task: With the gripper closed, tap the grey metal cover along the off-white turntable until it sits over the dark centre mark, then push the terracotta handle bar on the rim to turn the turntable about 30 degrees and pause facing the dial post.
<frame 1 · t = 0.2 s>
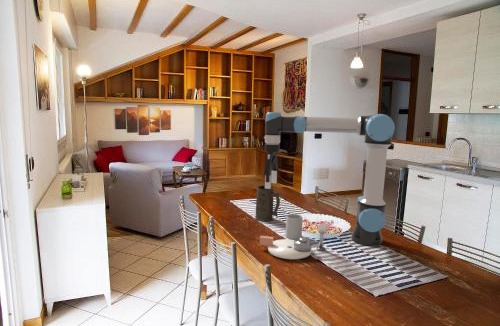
hand: (270, 185, 175), 28 cm above the table, fingers open, 13 cm apart
beer stein: (267, 219, 211), on the table
turntable: (285, 244, 162), point 3 cm above the table, hinge at 0.0°, touching cover
dial post: (320, 249, 167), on the table
cover: (302, 248, 161), point 2 cm above the table, touching turntable
mug: (291, 235, 185), on the table
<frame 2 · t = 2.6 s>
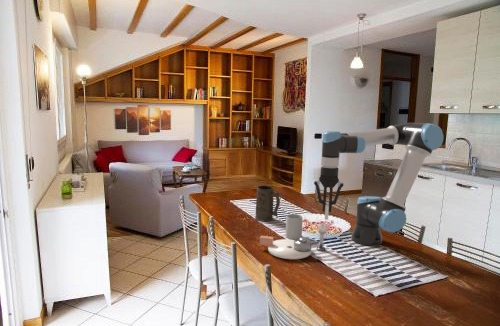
hand: (326, 218, 156), 18 cm above the table, fingers closed
nothing on the table moved.
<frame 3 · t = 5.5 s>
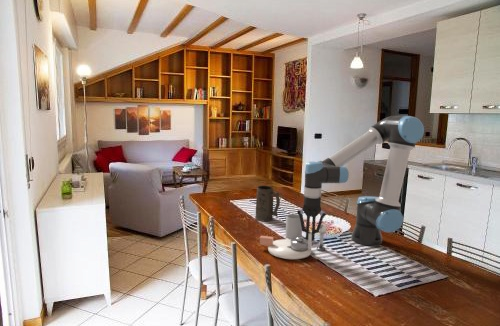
hand: (309, 246, 159), 4 cm above the table, fingers closed
turntable: (285, 244, 162), point 3 cm above the table, hinge at 0.0°
cover: (299, 248, 161), point 3 cm above the table, touching gripper
everything else where it was.
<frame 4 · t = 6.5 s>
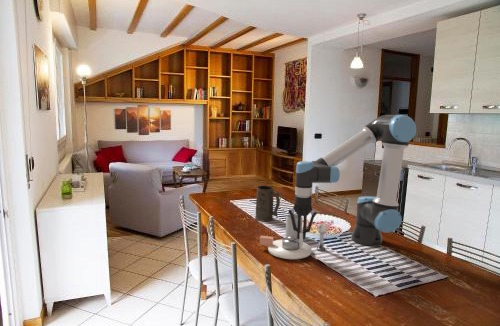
hand: (301, 245, 161), 4 cm above the table, fingers closed
turntable: (285, 244, 162), point 3 cm above the table, hinge at 0.0°, touching cover
cover: (290, 247, 162), point 3 cm above the table, touching gripper, turntable
everything else where it was.
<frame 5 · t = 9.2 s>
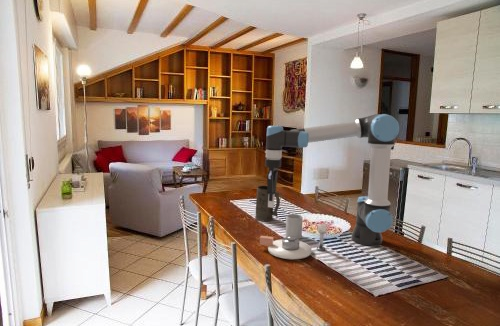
hand: (270, 207, 168), 19 cm above the table, fingers closed
cover: (290, 247, 162), point 2 cm above the table, touching turntable
everything else where it was.
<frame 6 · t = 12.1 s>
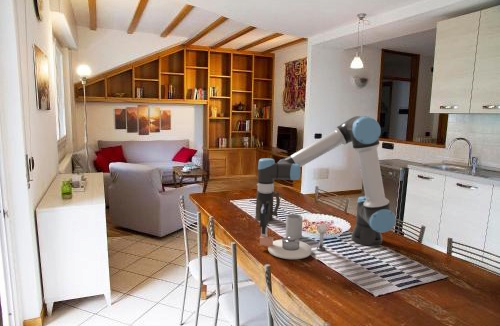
hand: (263, 239, 167), 4 cm above the table, fingers closed
turntable: (285, 244, 162), point 3 cm above the table, hinge at 1.7°, touching cover, gripper
everything else where it was.
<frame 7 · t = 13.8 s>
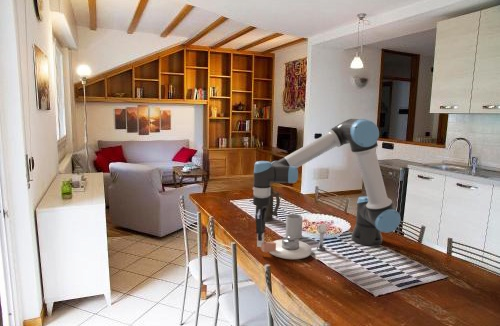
hand: (260, 246, 159), 4 cm above the table, fingers closed
turntable: (285, 245, 161), point 3 cm above the table, hinge at 39.1°, touching cover, gripper
everything else where it was.
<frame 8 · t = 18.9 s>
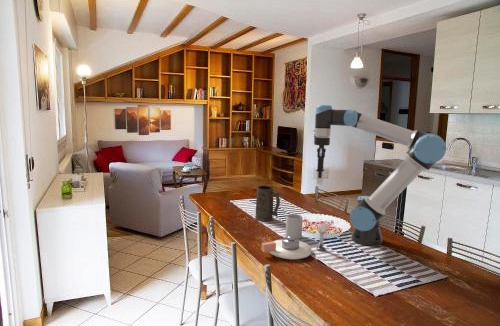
hand: (319, 184, 175), 29 cm above the table, fingers closed
turntable: (285, 245, 161), point 3 cm above the table, hinge at 39.2°, touching cover
everything else where it was.
at the end: cover 0.4 cm from the turntable (horizontally); turntable at +39° (first picture: +0°); cover tilted 0° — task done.
